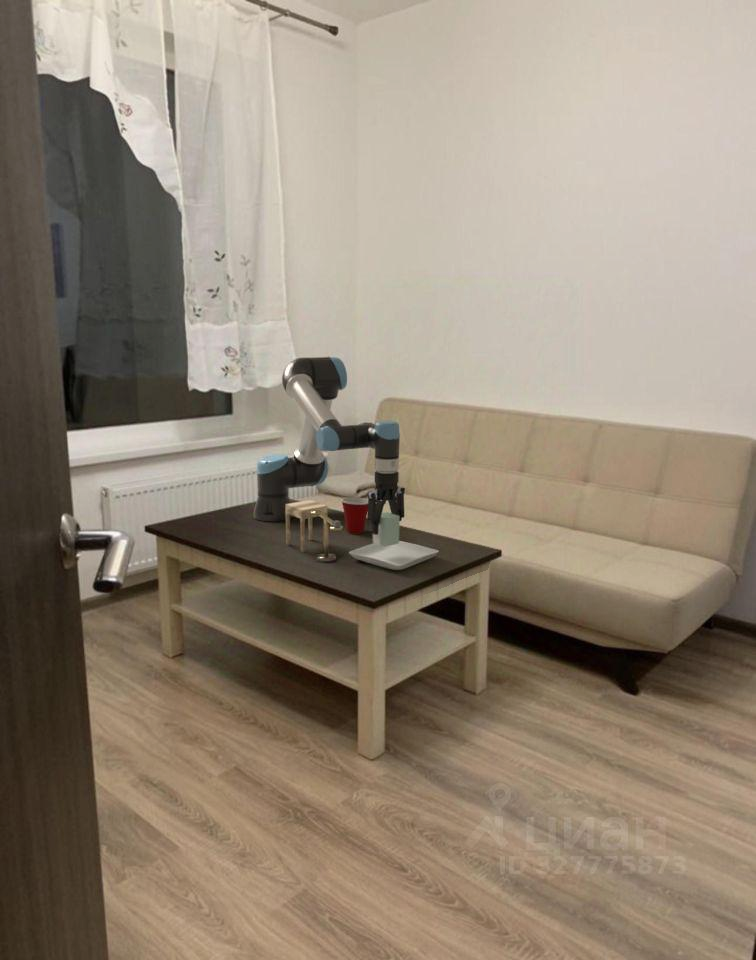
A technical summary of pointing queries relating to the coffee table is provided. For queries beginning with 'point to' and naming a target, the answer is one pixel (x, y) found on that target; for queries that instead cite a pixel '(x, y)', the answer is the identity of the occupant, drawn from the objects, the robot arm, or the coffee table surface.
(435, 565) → the coffee table surface
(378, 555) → the salad plate
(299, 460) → the robot arm
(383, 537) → the block
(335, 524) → the balance
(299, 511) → the wooden stool
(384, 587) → the coffee table surface
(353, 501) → the plastic cup
